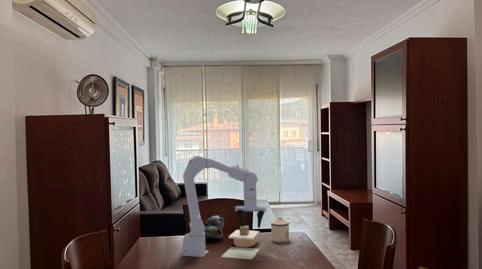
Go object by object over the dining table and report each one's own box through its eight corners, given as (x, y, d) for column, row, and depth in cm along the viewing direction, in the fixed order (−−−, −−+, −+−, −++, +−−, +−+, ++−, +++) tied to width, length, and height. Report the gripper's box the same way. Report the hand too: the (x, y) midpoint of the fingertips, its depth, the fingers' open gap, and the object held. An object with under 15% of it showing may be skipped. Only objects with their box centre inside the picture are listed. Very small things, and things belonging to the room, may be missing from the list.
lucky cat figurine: (193, 238, 188) (199, 212, 194) (213, 244, 192) (219, 218, 198) (205, 236, 175) (211, 208, 181) (226, 242, 180) (232, 215, 186)
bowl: (231, 247, 172) (231, 237, 172) (238, 240, 181) (237, 231, 181) (252, 248, 169) (251, 238, 169) (257, 242, 178) (257, 233, 178)
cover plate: (228, 238, 171) (228, 229, 171) (236, 231, 182) (236, 222, 182) (253, 239, 167) (252, 230, 167) (259, 232, 179) (259, 224, 179)
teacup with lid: (290, 242, 176) (289, 219, 176) (271, 243, 176) (271, 219, 176) (287, 235, 188) (287, 213, 188) (270, 236, 188) (269, 213, 188)
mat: (221, 257, 157) (220, 256, 157) (231, 247, 171) (231, 246, 171) (251, 260, 153) (251, 259, 153) (259, 249, 167) (259, 248, 167)
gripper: (267, 196, 170) (268, 225, 170) (238, 195, 174) (238, 223, 174) (264, 199, 163) (264, 229, 163) (233, 198, 167) (234, 227, 167)
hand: (251, 226), depth 168 cm, fingers open, 7 cm apart
